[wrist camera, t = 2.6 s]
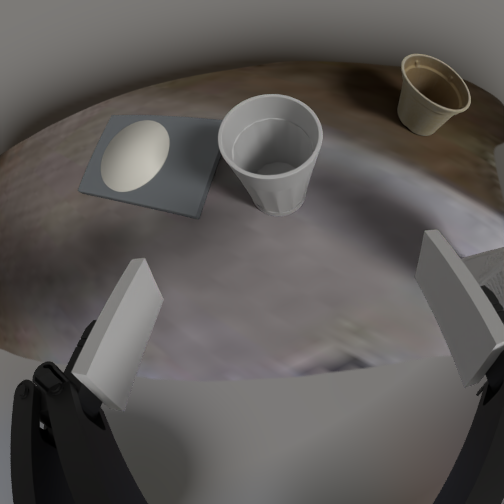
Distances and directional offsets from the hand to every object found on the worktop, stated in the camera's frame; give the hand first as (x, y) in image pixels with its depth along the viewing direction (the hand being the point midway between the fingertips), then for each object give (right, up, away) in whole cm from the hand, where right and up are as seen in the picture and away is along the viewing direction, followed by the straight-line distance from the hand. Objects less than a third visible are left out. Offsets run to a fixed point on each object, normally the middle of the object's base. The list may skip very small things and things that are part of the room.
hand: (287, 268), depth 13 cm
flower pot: (+21, +19, +18) cm, 34 cm away
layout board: (-15, +13, +22) cm, 30 cm away
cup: (+2, +8, +19) cm, 21 cm away
